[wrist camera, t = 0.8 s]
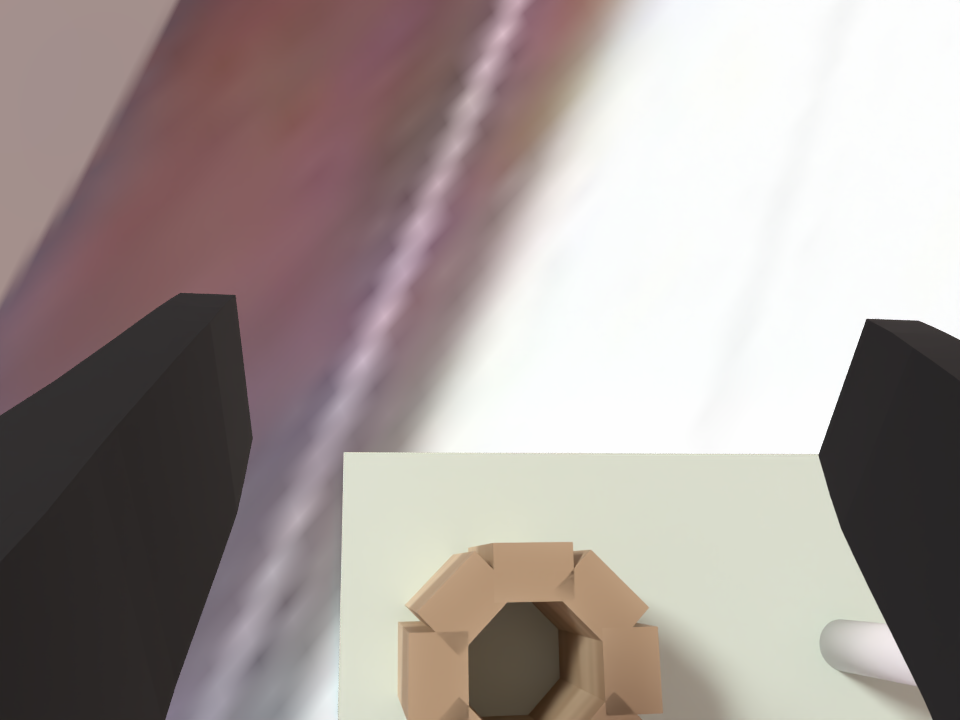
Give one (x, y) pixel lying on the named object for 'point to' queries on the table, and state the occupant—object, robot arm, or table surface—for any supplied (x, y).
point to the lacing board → (628, 579)
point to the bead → (563, 601)
